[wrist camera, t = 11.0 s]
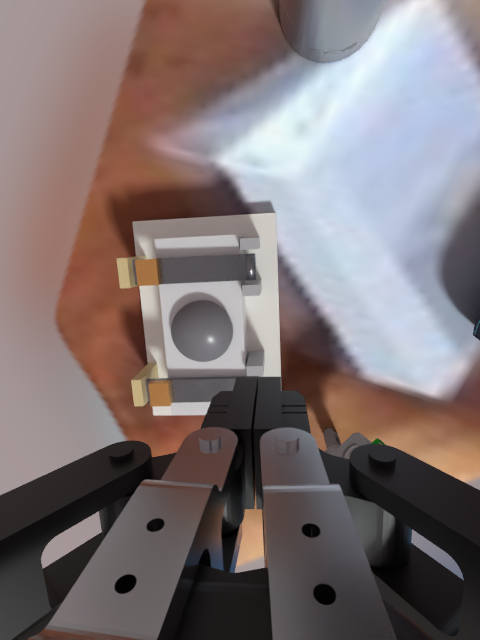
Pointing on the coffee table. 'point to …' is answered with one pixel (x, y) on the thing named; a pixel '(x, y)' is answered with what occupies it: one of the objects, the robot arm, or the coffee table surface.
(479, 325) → the portable speaker
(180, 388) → the strap far
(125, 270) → the base
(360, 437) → the mechanical component
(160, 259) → the strap near
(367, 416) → the coffee table surface
